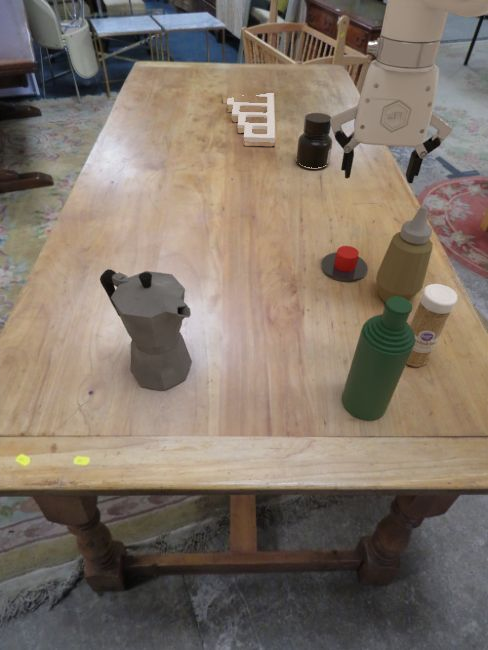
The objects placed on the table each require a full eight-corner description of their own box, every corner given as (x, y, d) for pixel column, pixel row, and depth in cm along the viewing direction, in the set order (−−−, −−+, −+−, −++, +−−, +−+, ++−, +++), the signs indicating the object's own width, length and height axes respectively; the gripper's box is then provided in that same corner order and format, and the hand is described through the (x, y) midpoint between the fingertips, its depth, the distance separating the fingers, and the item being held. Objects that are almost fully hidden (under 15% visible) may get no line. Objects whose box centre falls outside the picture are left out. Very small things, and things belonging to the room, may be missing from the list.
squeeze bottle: (370, 279, 83) (394, 192, 70) (413, 284, 82) (446, 196, 70) (373, 308, 77) (400, 218, 64) (419, 313, 76) (456, 223, 64)
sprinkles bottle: (402, 368, 67) (430, 304, 58) (394, 346, 71) (419, 282, 61) (431, 368, 68) (464, 303, 58) (422, 346, 71) (451, 282, 61)
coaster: (365, 256, 88) (366, 254, 88) (368, 284, 82) (368, 282, 81) (321, 252, 89) (321, 249, 89) (320, 279, 83) (320, 276, 82)
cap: (334, 271, 84) (337, 257, 81) (333, 258, 87) (336, 244, 84) (356, 273, 83) (359, 259, 81) (355, 260, 86) (358, 246, 84)
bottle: (384, 386, 65) (423, 288, 51) (388, 423, 60) (433, 326, 47) (341, 381, 65) (368, 283, 52) (342, 417, 61) (373, 320, 47)
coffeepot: (214, 366, 67) (210, 273, 54) (175, 409, 61) (160, 316, 49) (139, 326, 73) (120, 234, 60) (98, 362, 67) (66, 269, 54)
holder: (274, 147, 126) (275, 138, 124) (212, 145, 126) (212, 135, 124) (273, 96, 158) (273, 88, 156) (223, 95, 158) (223, 86, 156)
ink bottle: (335, 167, 117) (344, 121, 109) (308, 173, 114) (314, 126, 106) (316, 153, 123) (322, 109, 115) (289, 159, 120) (293, 113, 112)
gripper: (340, 56, 55) (322, 183, 67) (482, 63, 54) (437, 192, 66) (340, 43, 61) (323, 163, 73) (469, 49, 59) (430, 171, 71)
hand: (377, 177), depth 69 cm, fingers open, 9 cm apart
